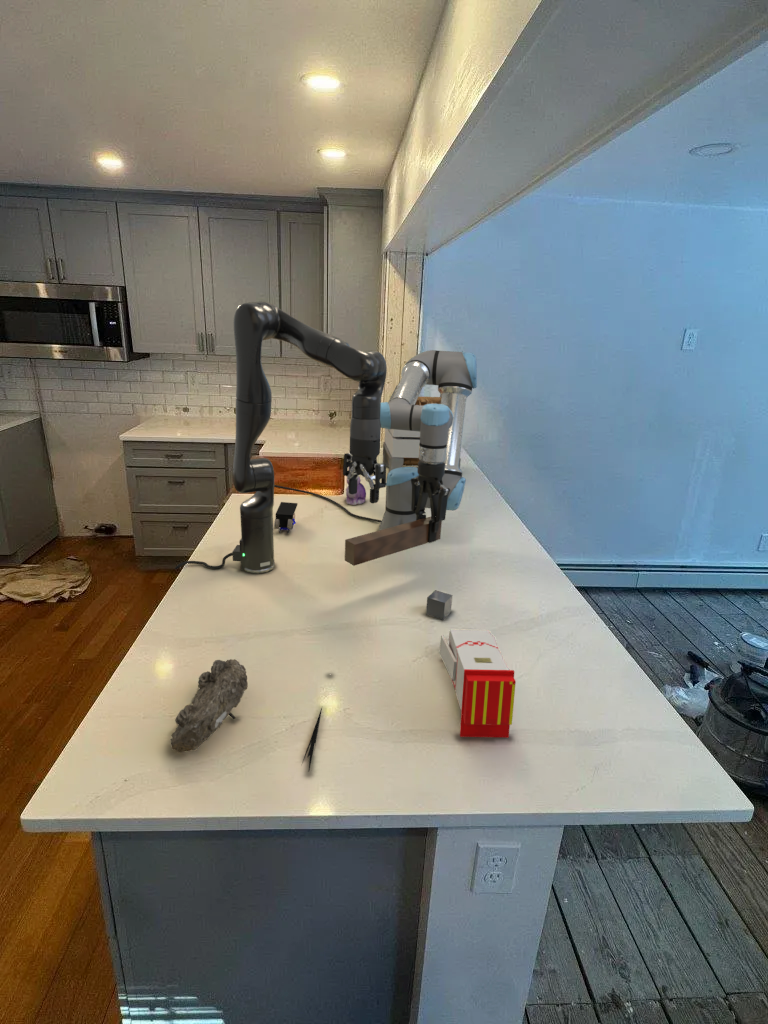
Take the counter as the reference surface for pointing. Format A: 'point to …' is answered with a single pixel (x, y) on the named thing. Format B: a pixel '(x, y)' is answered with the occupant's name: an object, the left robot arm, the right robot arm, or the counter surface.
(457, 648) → the toy
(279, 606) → the counter surface
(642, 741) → the counter surface
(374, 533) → the walnut bar
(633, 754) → the counter surface
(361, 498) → the figurine
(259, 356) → the left robot arm
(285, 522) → the figurine character
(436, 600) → the slate cube
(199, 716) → the fossil
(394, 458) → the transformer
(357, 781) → the counter surface
